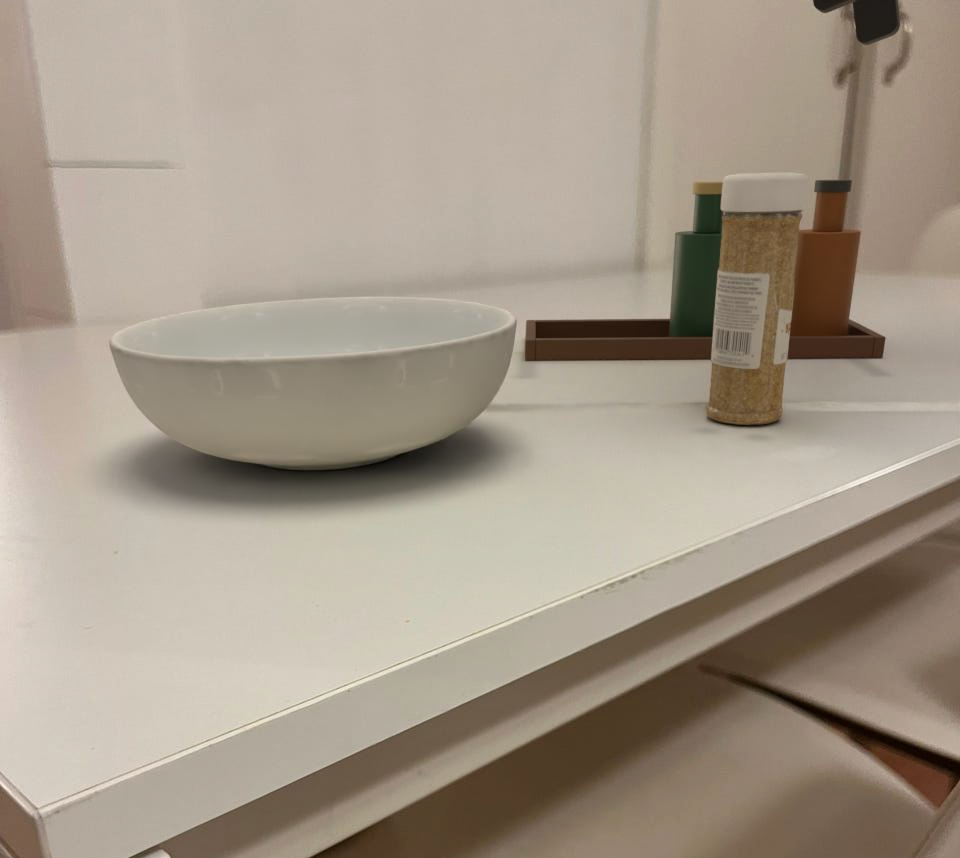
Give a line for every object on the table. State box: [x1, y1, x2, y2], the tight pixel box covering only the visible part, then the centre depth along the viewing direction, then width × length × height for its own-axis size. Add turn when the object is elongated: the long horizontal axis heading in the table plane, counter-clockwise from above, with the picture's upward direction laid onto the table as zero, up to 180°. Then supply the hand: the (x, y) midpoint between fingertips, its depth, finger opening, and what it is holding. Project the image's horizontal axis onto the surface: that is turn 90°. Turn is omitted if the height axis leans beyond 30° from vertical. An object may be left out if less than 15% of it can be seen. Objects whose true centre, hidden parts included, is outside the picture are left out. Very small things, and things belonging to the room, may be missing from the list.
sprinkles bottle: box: [706, 171, 809, 426], centre depth 58 cm, size 5×5×13 cm
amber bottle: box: [790, 179, 862, 336], centre depth 77 cm, size 5×5×12 cm
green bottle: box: [669, 181, 725, 337], centre depth 78 cm, size 5×5×12 cm
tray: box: [524, 318, 886, 362], centre depth 80 cm, size 27×11×2 cm, turn 87°
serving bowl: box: [108, 296, 518, 471], centre depth 54 cm, size 21×21×7 cm
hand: (860, 23), depth 53 cm, fingers open, 8 cm apart
